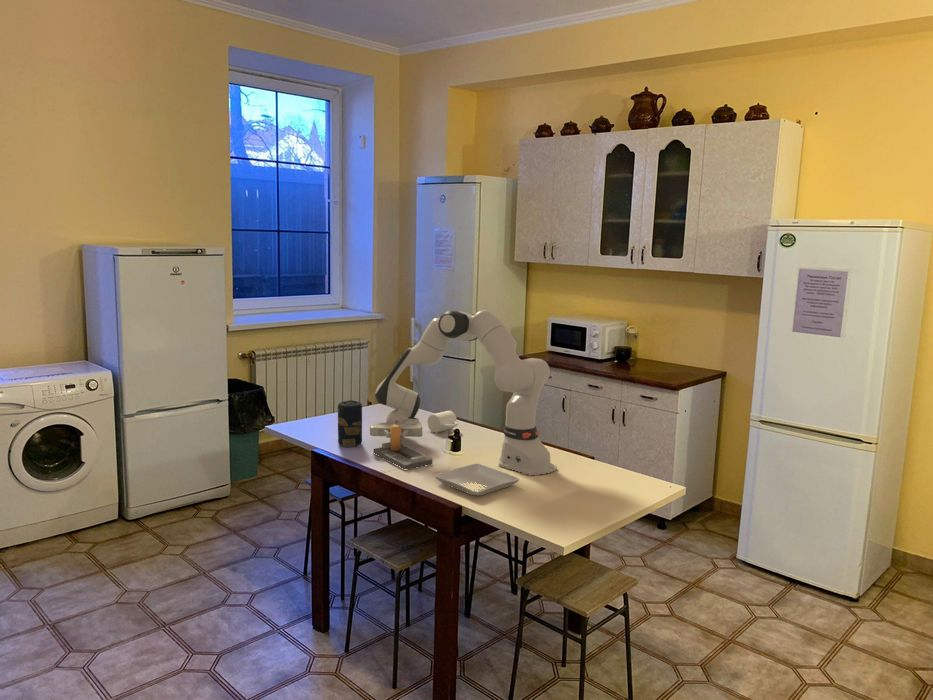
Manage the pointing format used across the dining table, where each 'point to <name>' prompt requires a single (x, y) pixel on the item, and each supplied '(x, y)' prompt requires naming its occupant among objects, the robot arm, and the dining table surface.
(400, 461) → the console
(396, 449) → the fader knob
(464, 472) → the salad plate
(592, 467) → the dining table surface
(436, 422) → the mug
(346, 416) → the canister
